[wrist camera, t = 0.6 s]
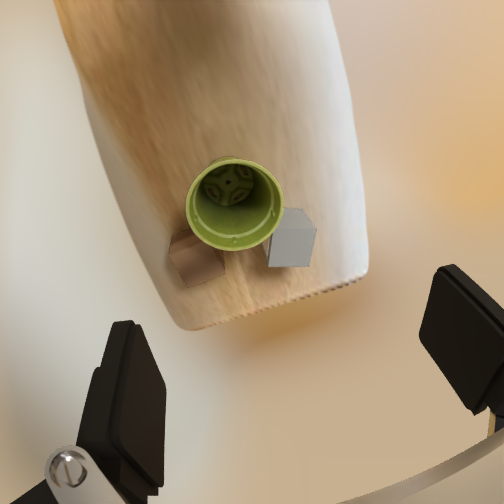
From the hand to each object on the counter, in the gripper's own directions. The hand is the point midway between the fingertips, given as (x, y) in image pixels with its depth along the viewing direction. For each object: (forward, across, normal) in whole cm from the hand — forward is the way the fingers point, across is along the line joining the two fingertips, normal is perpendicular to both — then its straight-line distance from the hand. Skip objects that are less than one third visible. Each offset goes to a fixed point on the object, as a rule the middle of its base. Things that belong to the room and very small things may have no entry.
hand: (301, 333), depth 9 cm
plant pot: (+31, 0, +4) cm, 31 cm away
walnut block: (+31, +5, +12) cm, 34 cm away
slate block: (+31, -6, +10) cm, 33 cm away
